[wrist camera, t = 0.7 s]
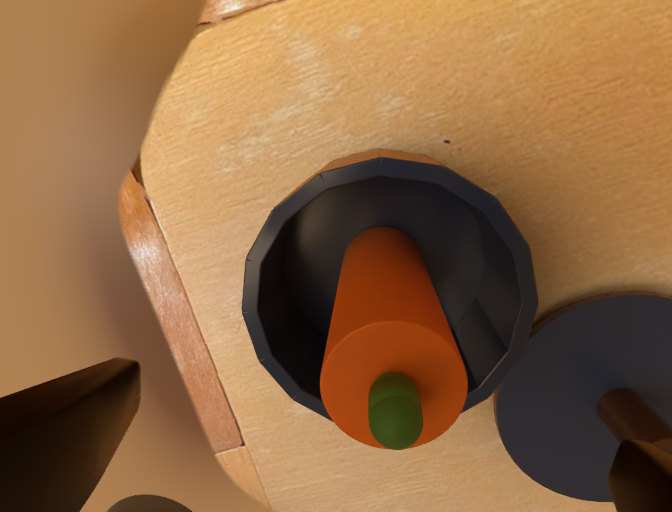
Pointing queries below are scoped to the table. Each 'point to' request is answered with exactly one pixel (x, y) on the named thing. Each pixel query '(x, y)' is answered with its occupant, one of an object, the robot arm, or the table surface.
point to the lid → (589, 391)
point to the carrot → (390, 347)
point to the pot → (436, 250)
